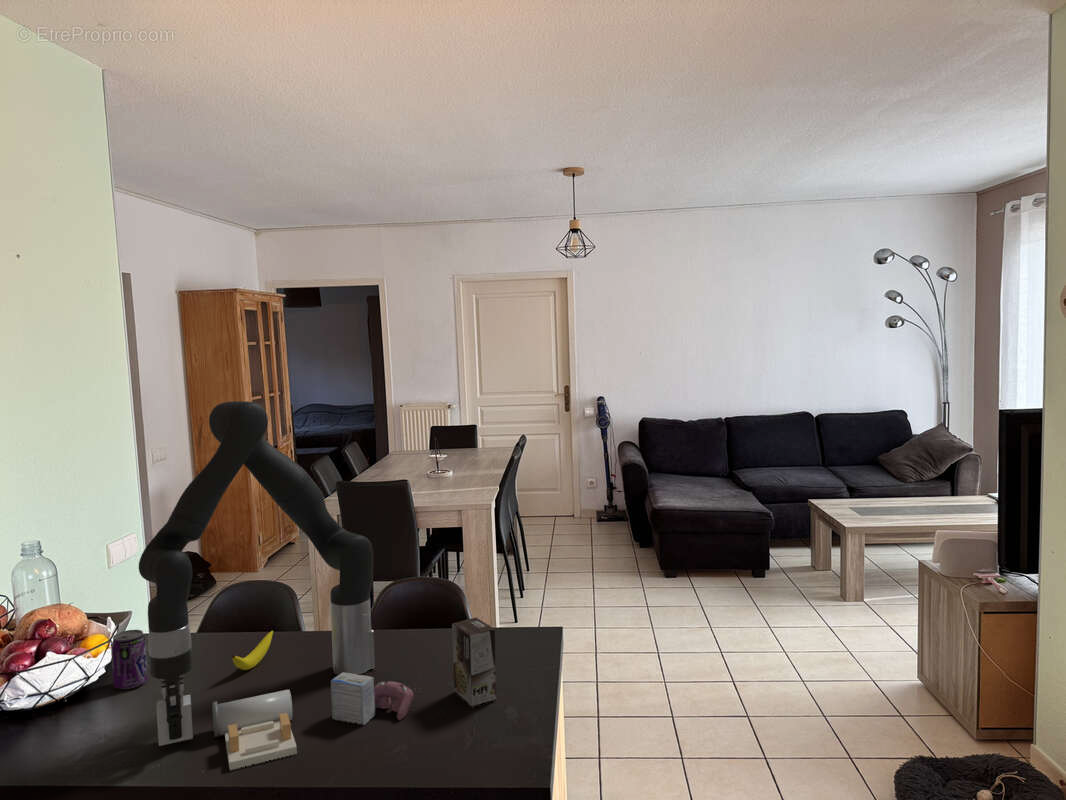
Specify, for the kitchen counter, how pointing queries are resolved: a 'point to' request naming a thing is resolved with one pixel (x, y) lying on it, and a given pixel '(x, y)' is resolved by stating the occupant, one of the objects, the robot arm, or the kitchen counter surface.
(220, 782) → the kitchen counter surface
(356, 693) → the medicine box
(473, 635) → the coffee box
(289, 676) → the kitchen counter surface
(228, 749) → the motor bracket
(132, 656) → the beverage can
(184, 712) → the grey box with knob
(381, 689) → the video game controller
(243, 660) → the banana
